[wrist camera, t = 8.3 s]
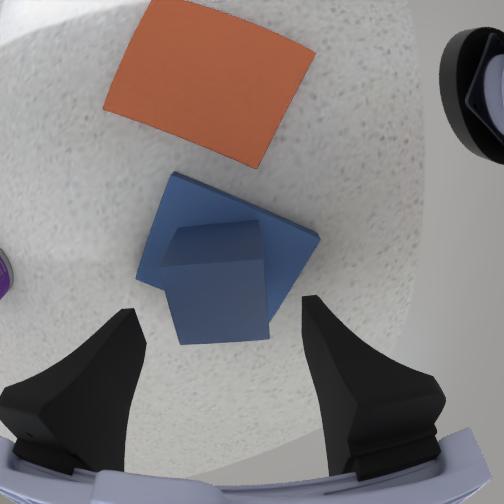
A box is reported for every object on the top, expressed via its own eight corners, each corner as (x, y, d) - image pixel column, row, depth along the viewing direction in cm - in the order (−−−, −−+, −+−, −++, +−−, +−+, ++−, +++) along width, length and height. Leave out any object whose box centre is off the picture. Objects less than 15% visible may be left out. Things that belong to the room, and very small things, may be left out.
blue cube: (258, 219, 17) (264, 258, 13) (264, 289, 19) (269, 339, 15) (177, 227, 17) (158, 267, 13) (191, 295, 19) (179, 345, 15)
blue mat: (317, 233, 18) (321, 239, 18) (265, 320, 21) (266, 327, 20) (173, 171, 16) (170, 174, 16) (138, 272, 19) (135, 279, 18)
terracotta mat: (313, 55, 14) (316, 52, 13) (256, 166, 16) (256, 169, 16) (159, -3, 12) (155, -8, 11) (107, 108, 15) (101, 109, 14)
